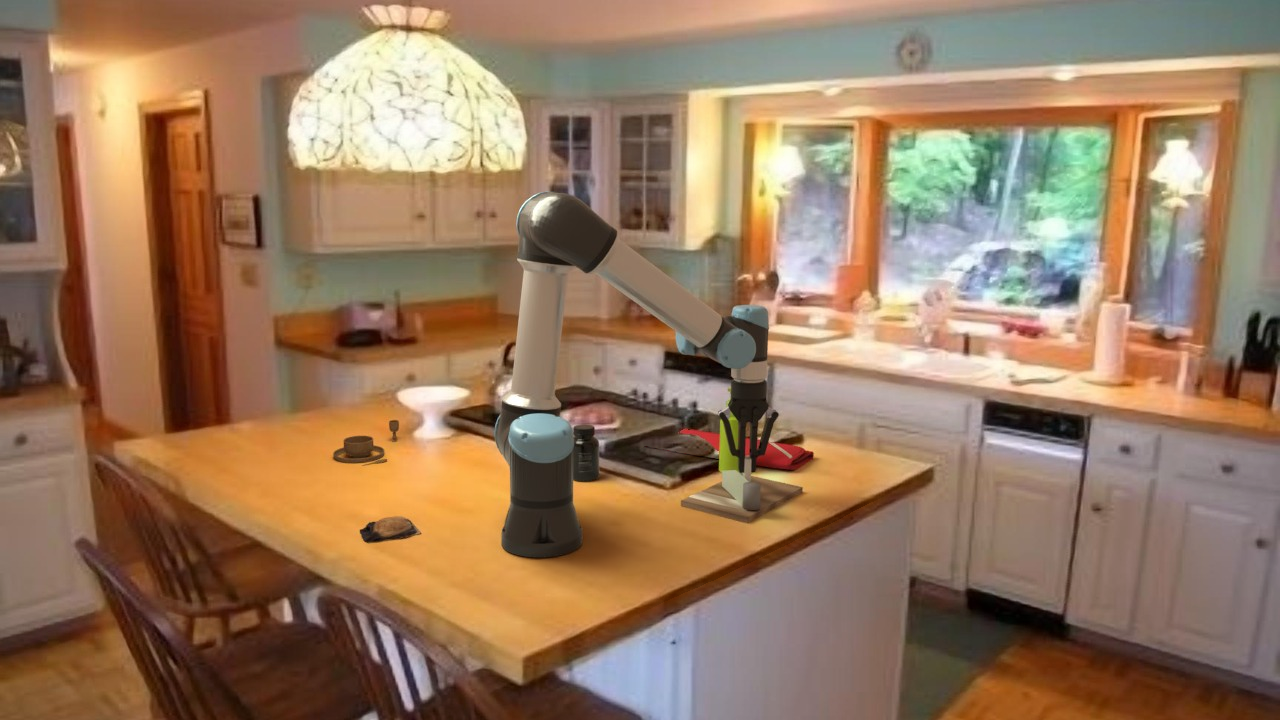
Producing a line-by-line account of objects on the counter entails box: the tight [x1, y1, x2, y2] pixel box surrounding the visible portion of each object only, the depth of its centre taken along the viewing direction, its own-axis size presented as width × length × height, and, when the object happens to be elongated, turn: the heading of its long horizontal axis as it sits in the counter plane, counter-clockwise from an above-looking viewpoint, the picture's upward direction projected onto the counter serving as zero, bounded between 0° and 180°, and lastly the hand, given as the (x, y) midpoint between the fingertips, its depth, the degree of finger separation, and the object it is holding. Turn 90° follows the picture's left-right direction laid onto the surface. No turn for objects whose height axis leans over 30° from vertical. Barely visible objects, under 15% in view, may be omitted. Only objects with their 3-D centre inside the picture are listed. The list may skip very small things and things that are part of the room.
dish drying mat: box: [678, 428, 815, 471], centre depth 237 cm, size 16×41×4 cm, turn 58°
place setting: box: [332, 419, 400, 467], centre depth 232 cm, size 18×20×6 cm
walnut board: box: [680, 473, 804, 524], centre depth 202 cm, size 24×16×1 cm, turn 143°
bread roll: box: [359, 515, 422, 544], centre depth 180 cm, size 11×8×4 cm
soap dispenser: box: [718, 386, 740, 473], centre depth 220 cm, size 6×7×20 cm
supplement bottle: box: [573, 423, 600, 482], centre depth 214 cm, size 7×7×12 cm
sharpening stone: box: [721, 470, 761, 510], centre depth 198 cm, size 16×4×5 cm, turn 14°
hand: (746, 486), depth 202 cm, fingers closed
